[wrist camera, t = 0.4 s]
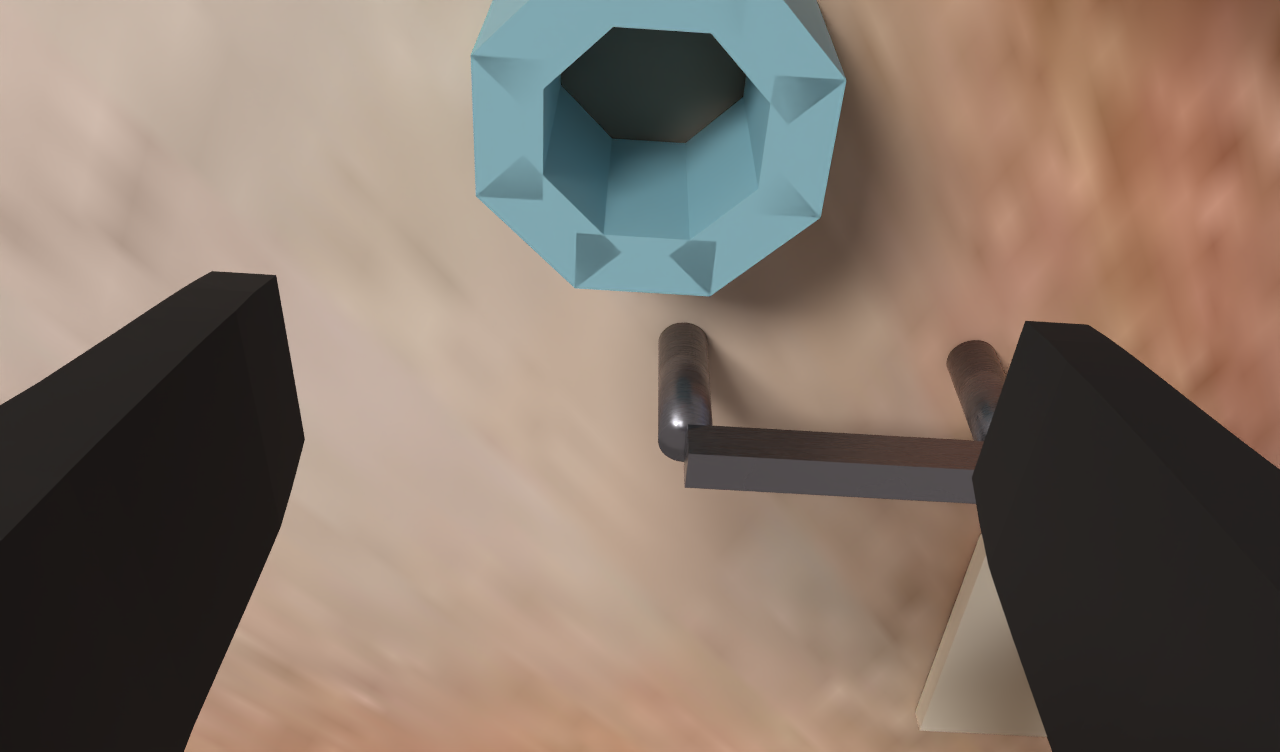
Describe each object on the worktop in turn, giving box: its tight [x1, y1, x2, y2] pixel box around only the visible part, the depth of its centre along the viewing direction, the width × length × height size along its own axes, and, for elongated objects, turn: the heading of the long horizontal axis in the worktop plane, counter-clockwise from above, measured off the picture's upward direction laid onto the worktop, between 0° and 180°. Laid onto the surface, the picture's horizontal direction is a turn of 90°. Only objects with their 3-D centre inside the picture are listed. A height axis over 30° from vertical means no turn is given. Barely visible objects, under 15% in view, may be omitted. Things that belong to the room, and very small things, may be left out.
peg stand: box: [915, 534, 1047, 737], centre depth 25 cm, size 7×7×5 cm
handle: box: [658, 323, 1006, 504], centre depth 21 cm, size 10×6×4 cm, turn 87°
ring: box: [471, 0, 846, 296], centre depth 16 cm, size 5×5×4 cm
